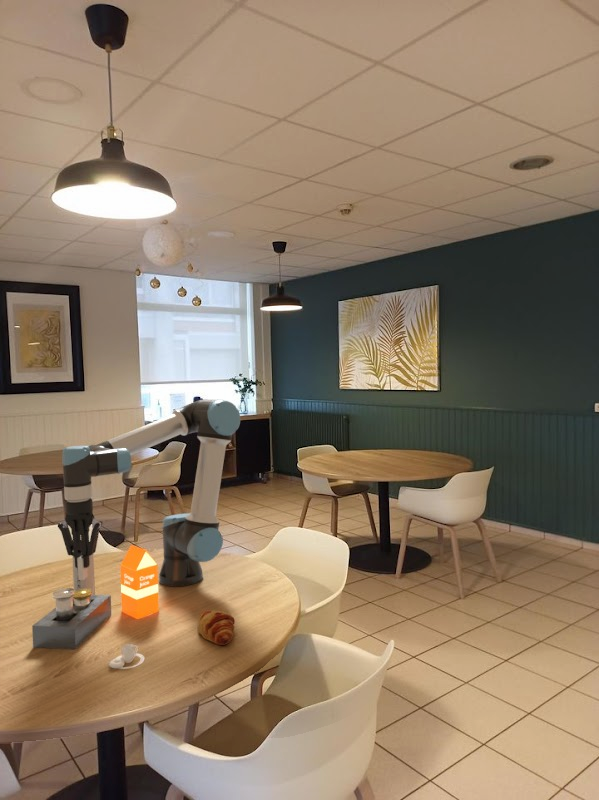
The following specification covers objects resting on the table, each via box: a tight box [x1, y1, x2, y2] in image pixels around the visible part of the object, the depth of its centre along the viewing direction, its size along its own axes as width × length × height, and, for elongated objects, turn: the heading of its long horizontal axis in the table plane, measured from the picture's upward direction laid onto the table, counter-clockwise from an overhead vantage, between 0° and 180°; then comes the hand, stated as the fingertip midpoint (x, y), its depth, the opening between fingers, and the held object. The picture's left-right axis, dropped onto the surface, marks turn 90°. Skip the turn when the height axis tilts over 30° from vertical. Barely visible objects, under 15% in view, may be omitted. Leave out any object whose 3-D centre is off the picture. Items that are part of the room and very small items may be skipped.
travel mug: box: [72, 541, 96, 595], centre depth 182 cm, size 6×7×20 cm
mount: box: [31, 594, 112, 650], centre depth 164 cm, size 12×22×6 cm, turn 174°
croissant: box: [197, 609, 236, 646], centre depth 160 cm, size 21×10×8 cm, turn 25°
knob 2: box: [73, 588, 92, 606], centre depth 169 cm, size 6×6×8 cm
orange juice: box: [119, 544, 160, 620], centre depth 176 cm, size 8×9×20 cm
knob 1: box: [52, 587, 75, 621], centre depth 158 cm, size 6×6×8 cm
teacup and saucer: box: [108, 643, 146, 670], centre depth 145 cm, size 9×8×4 cm
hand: (83, 578), depth 169 cm, fingers closed
